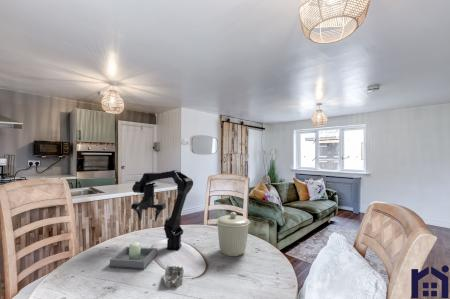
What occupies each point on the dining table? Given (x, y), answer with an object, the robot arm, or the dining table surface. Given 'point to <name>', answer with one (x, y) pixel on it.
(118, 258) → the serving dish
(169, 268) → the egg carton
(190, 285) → the dining table surface
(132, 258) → the pale green cylinder
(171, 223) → the robot arm
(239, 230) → the canister
